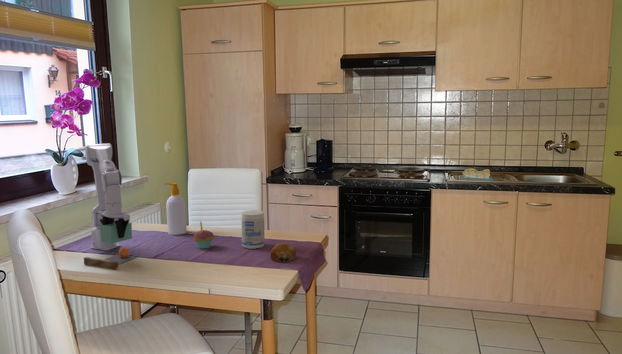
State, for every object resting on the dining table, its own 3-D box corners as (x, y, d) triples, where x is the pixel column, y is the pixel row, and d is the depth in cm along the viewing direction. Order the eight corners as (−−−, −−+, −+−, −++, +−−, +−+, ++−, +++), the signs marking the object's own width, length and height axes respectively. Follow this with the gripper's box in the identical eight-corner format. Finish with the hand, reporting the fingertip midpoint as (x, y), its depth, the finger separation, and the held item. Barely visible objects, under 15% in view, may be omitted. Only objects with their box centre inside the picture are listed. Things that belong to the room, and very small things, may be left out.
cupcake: (209, 250, 195) (207, 222, 193) (190, 249, 196) (188, 221, 195) (217, 244, 203) (216, 217, 201) (198, 243, 205) (197, 216, 203)
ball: (117, 246, 186) (124, 247, 189) (115, 256, 185) (122, 257, 188) (125, 247, 184) (132, 248, 188) (123, 257, 183) (130, 258, 187)
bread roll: (297, 266, 186) (300, 246, 188) (289, 262, 176) (292, 241, 178) (274, 263, 189) (277, 243, 191) (265, 260, 180) (268, 239, 182)
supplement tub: (245, 250, 194) (244, 215, 192) (239, 244, 203) (238, 211, 201) (267, 247, 198) (267, 213, 196) (261, 241, 206) (260, 209, 204)
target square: (97, 262, 181) (97, 261, 181) (117, 254, 190) (117, 254, 190) (117, 265, 177) (117, 264, 177) (136, 257, 186) (136, 257, 186)
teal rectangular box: (101, 241, 180) (100, 225, 179) (121, 236, 188) (121, 221, 188) (111, 243, 177) (110, 227, 177) (131, 238, 186) (131, 222, 185)
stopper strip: (84, 264, 179) (83, 257, 179) (86, 263, 180) (86, 256, 180) (115, 269, 173) (115, 262, 172) (118, 268, 174) (117, 261, 173)
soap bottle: (171, 230, 228) (168, 181, 224) (189, 230, 226) (187, 181, 223) (163, 235, 219) (160, 184, 216) (182, 235, 218) (179, 184, 214)
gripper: (135, 201, 181) (137, 236, 183) (108, 198, 187) (111, 232, 189) (120, 205, 174) (122, 240, 176) (93, 202, 181) (96, 236, 183)
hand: (115, 236), depth 182 cm, fingers closed on teal rectangular box, 6 cm apart
